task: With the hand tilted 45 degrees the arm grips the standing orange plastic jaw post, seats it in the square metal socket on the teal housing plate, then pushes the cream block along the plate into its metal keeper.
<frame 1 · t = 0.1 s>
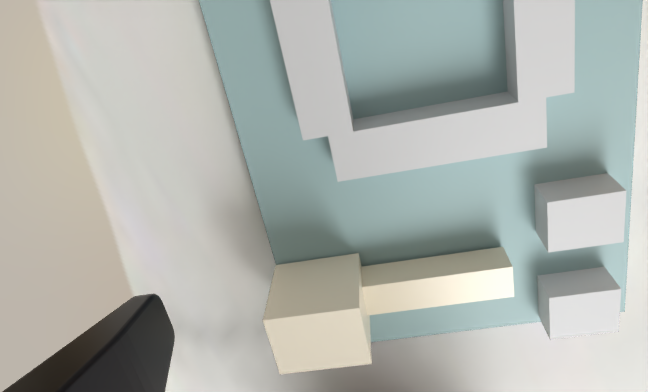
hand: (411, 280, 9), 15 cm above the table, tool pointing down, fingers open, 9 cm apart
cream block: (392, 302, 23), point 3 cm above the table, slide at 0.0 cm
housing: (430, 138, 23), on the table
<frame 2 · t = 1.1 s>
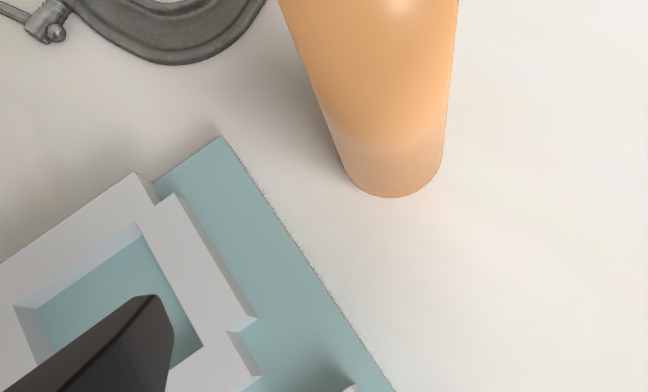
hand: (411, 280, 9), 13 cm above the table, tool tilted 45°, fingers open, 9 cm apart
jaw post: (391, 150, 24), on the table
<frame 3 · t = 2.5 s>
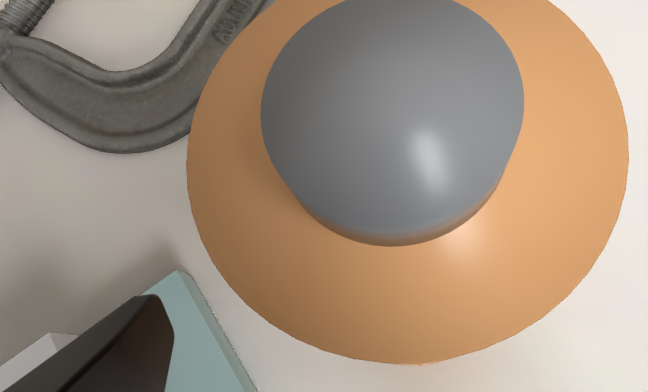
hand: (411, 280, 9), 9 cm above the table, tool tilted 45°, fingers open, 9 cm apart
jaw post: (411, 292, 17), on the table
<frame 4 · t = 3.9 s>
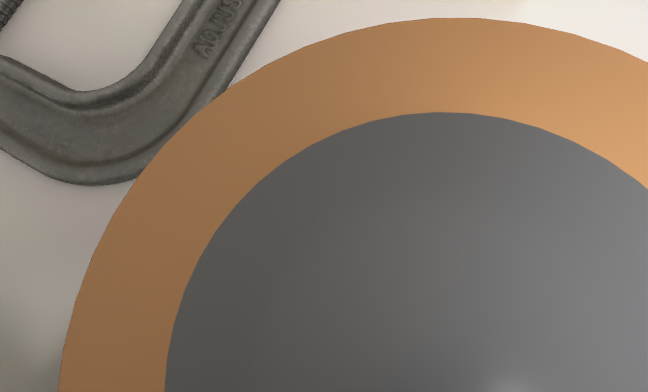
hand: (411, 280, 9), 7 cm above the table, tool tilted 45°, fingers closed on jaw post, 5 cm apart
jaw post: (423, 364, 15), on the table, touching gripper
when the fingers open (9 cm above the table, at t = 7.4 s): jaw post drops 2 cm, resting on housing.
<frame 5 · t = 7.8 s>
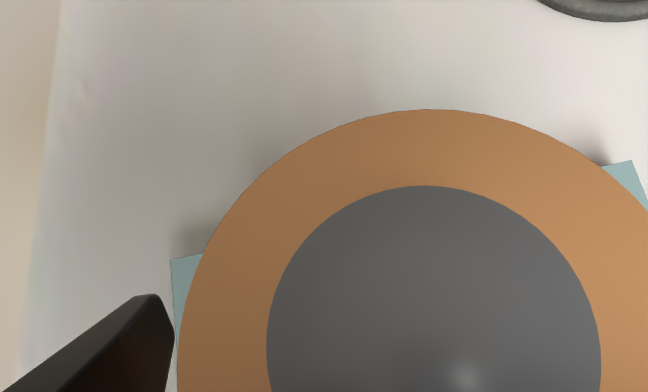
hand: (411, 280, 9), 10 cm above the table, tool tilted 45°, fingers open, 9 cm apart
jaw post: (423, 365, 16), point 1 cm above the table, touching housing
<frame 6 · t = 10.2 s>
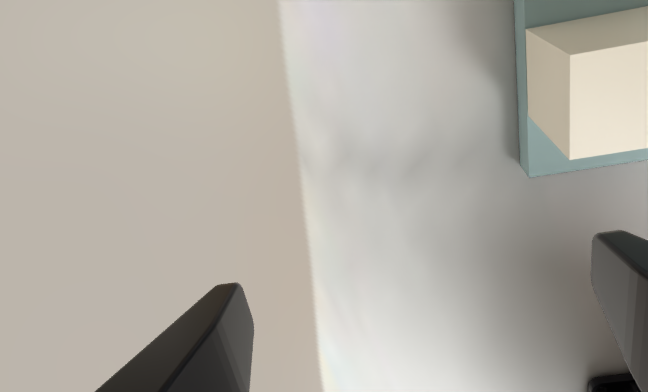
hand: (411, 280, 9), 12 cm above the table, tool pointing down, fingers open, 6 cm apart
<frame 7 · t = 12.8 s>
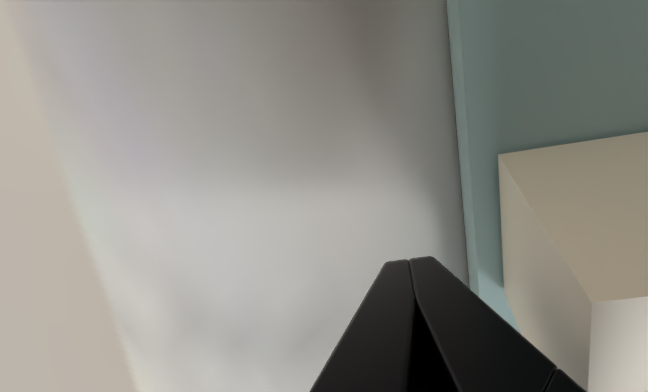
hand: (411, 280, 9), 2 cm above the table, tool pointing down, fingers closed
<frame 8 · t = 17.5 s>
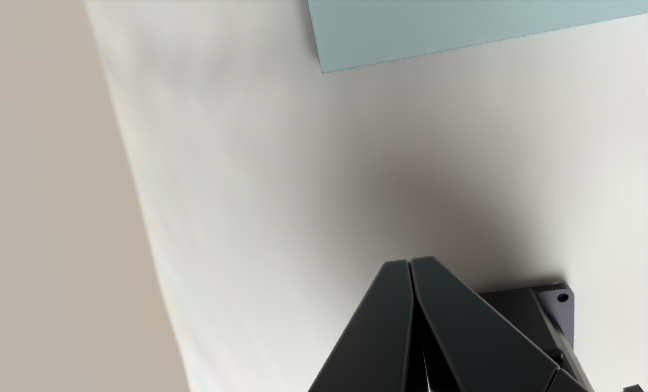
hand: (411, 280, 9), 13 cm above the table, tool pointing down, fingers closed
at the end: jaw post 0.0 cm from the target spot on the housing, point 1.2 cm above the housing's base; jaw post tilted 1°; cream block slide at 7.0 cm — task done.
